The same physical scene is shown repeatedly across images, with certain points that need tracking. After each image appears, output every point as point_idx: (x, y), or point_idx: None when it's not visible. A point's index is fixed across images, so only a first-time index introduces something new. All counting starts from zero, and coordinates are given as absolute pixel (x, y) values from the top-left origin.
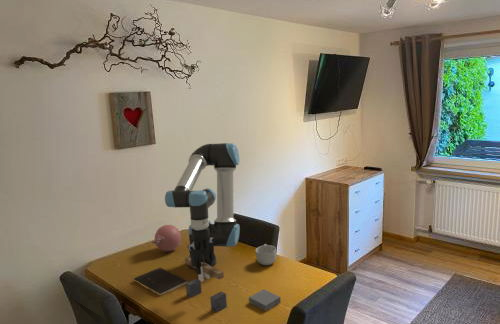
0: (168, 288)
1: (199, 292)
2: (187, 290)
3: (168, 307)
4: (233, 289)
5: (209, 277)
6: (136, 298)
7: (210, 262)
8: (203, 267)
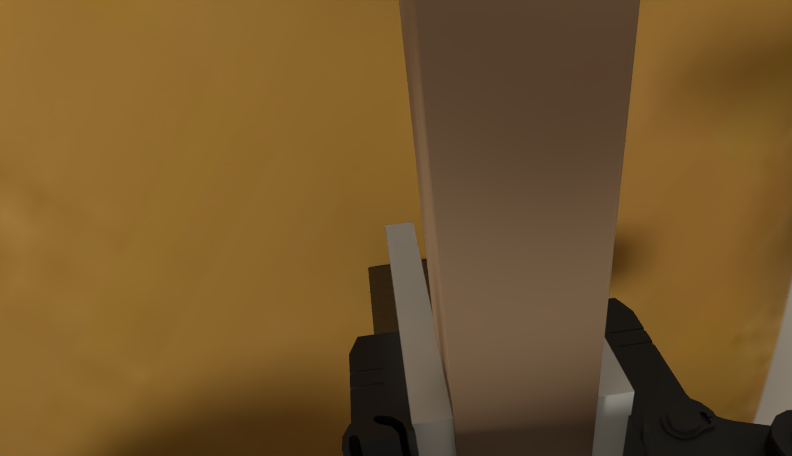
0: None
1: (389, 271)
2: None
3: (702, 230)
4: (56, 132)
5: (390, 234)
6: None
7: (368, 452)
8: (594, 371)
